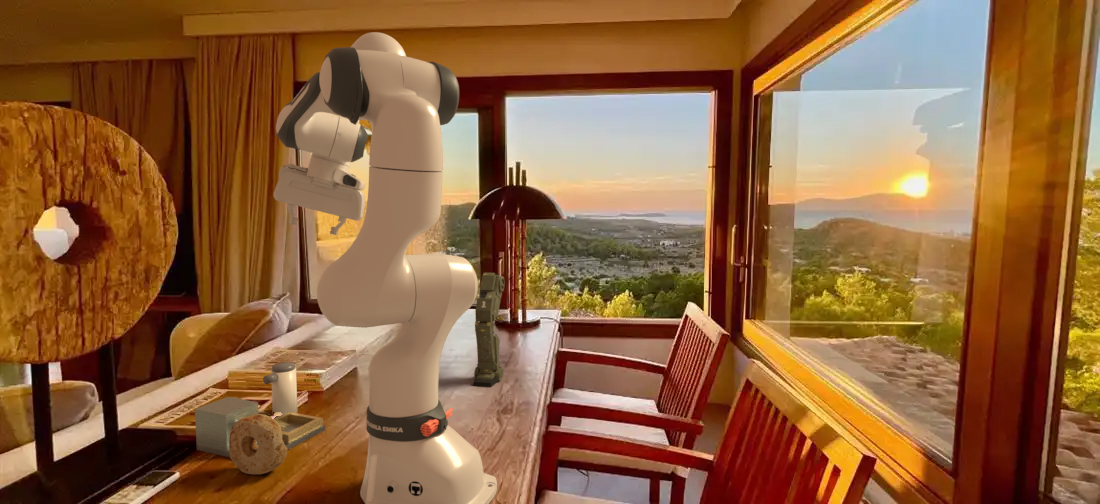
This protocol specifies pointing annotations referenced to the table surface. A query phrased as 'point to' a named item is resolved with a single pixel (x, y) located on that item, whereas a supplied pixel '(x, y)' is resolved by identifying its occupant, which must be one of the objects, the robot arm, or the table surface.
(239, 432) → the stone disc
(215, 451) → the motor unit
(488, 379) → the mechanical leg
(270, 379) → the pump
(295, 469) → the table surface
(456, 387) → the table surface
